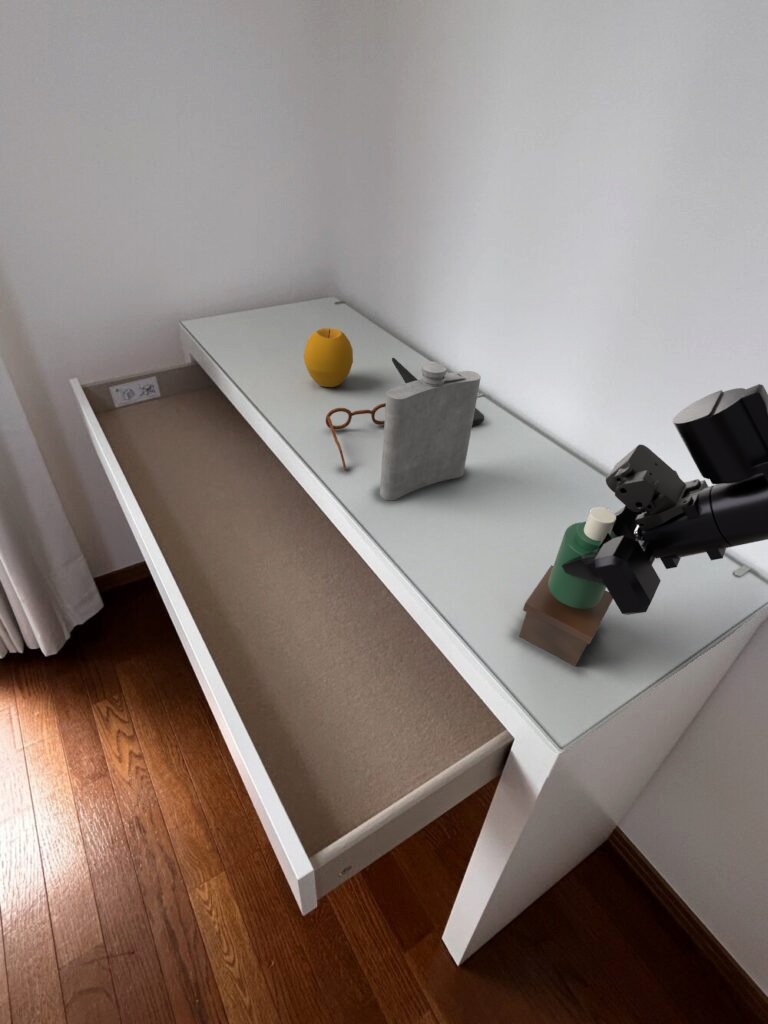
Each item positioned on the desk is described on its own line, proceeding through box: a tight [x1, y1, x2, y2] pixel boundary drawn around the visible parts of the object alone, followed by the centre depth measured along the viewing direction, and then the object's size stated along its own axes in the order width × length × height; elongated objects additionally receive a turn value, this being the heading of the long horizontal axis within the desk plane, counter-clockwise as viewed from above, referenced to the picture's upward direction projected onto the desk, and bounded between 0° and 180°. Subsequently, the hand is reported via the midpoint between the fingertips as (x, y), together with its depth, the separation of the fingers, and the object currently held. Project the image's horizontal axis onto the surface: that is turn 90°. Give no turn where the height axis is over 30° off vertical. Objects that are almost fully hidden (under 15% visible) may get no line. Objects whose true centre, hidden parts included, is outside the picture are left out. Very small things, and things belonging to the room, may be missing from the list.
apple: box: [303, 327, 354, 388], centre depth 113 cm, size 10×10×12 cm
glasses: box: [325, 402, 386, 471], centre depth 98 cm, size 13×13×5 cm
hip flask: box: [379, 361, 482, 501], centre depth 86 cm, size 16×4×20 cm, turn 122°
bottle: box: [548, 506, 618, 609], centre depth 62 cm, size 6×6×11 cm
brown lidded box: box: [518, 565, 614, 667], centre depth 68 cm, size 8×8×6 cm
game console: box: [391, 357, 485, 426], centre depth 108 cm, size 16×14×9 cm
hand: (574, 552), depth 62 cm, fingers closed on bottle, 6 cm apart
